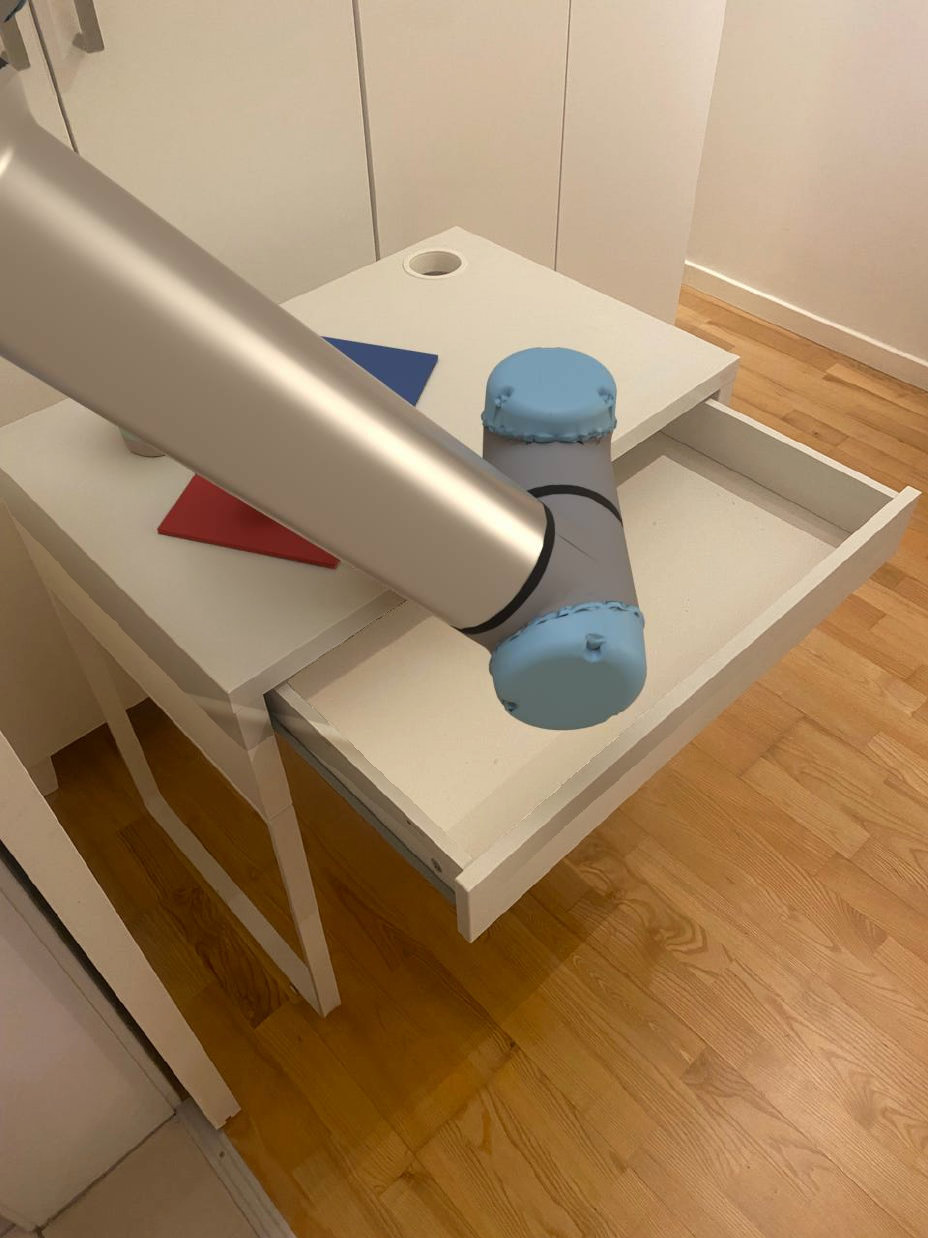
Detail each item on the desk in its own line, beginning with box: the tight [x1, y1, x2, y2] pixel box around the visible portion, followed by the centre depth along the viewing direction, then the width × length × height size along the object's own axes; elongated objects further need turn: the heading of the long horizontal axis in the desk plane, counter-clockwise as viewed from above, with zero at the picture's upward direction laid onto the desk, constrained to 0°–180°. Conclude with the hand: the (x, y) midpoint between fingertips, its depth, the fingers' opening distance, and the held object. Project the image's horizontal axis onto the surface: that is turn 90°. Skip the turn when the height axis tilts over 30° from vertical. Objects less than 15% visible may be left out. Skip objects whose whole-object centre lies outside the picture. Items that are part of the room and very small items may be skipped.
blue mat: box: [320, 335, 439, 408], centre depth 98 cm, size 16×10×1 cm, turn 76°
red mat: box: [156, 473, 341, 569], centre depth 84 cm, size 16×10×1 cm, turn 76°
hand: (206, 388), depth 78 cm, fingers closed on soda can, 5 cm apart
